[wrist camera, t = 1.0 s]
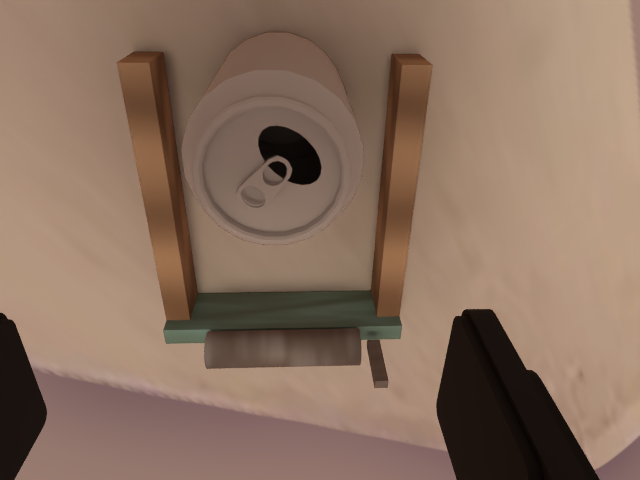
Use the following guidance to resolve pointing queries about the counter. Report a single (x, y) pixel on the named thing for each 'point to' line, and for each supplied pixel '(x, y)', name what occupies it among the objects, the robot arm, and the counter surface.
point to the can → (273, 142)
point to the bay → (277, 307)
